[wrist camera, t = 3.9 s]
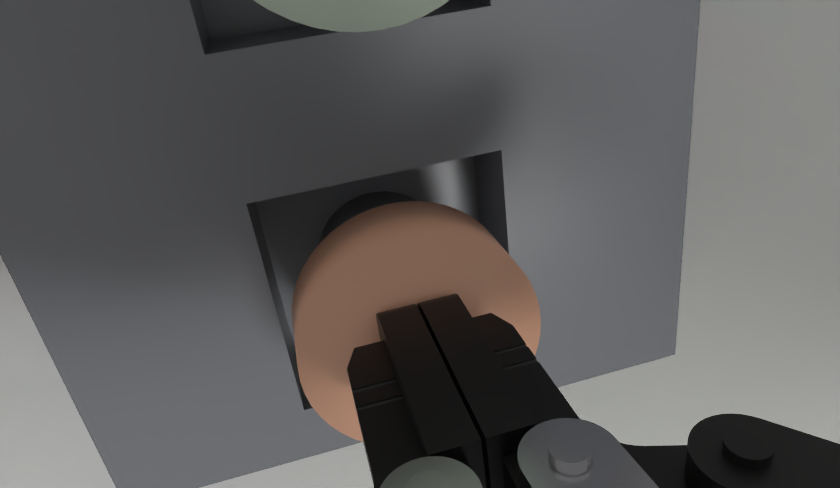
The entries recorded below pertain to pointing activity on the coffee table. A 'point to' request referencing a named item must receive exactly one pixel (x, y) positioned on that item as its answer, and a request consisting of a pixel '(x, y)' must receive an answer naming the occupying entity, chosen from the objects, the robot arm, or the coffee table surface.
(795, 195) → the coffee table surface
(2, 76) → the console
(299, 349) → the terracotta button
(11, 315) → the coffee table surface
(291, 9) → the sage button
